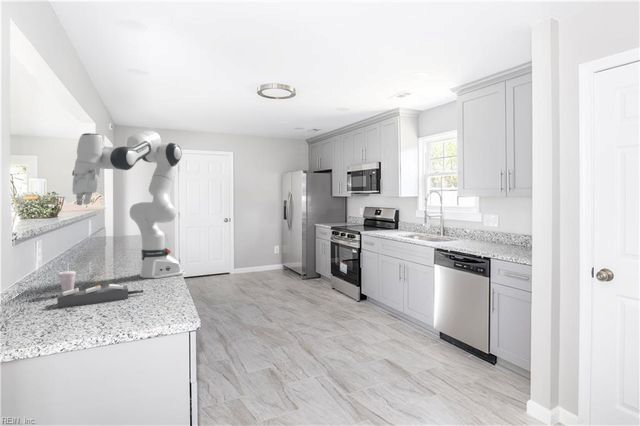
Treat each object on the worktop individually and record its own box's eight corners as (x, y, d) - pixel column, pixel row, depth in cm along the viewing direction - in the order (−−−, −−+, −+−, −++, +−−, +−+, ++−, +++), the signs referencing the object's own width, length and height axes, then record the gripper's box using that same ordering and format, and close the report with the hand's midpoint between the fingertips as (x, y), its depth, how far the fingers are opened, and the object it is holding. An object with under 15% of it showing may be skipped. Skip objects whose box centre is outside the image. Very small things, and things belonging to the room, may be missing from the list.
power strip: (142, 292, 162) (142, 283, 162) (144, 296, 156) (143, 286, 156) (59, 303, 146) (59, 292, 146) (57, 307, 140) (57, 297, 140)
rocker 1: (78, 289, 147) (78, 287, 147) (78, 291, 144) (77, 289, 144) (64, 294, 144) (63, 291, 144) (63, 296, 142) (62, 293, 141)
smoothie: (67, 296, 155) (66, 264, 155) (55, 296, 157) (53, 263, 156) (80, 292, 162) (79, 261, 161) (68, 292, 163) (66, 260, 162)
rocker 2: (100, 287, 151) (99, 284, 150) (100, 289, 148) (99, 286, 148) (86, 291, 148) (85, 288, 148) (86, 293, 145) (85, 290, 145)
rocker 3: (122, 287, 155) (122, 284, 155) (122, 289, 152) (123, 286, 152) (108, 286, 152) (109, 283, 152) (108, 288, 149) (109, 285, 149)
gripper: (104, 170, 146) (99, 204, 145) (88, 175, 160) (83, 206, 158) (86, 166, 142) (81, 202, 140) (71, 172, 155) (66, 204, 154)
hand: (82, 204), depth 149 cm, fingers open, 8 cm apart
